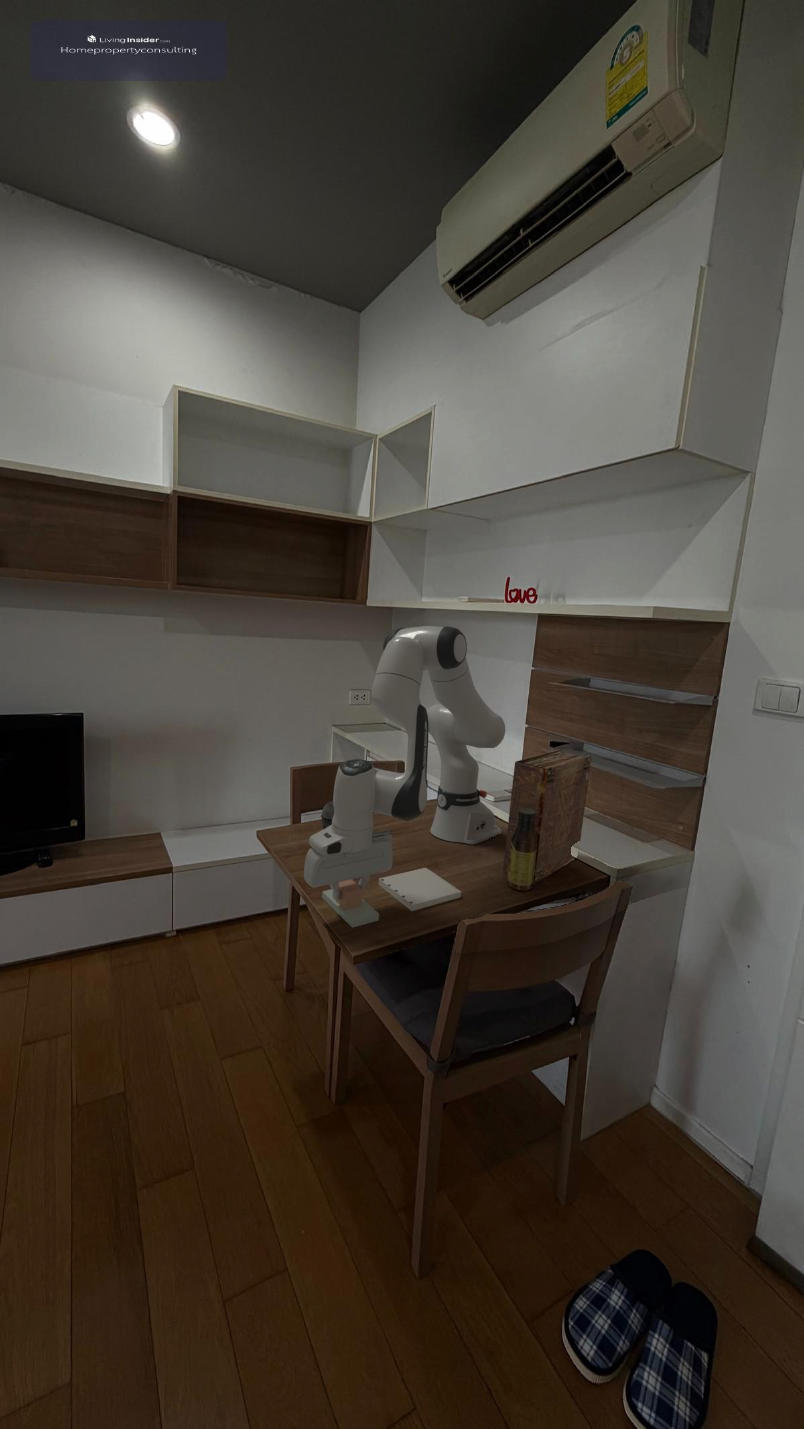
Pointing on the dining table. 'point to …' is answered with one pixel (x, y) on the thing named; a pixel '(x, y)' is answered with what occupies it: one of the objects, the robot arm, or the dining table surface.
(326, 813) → the beverage cup
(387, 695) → the robot arm
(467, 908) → the dining table surface
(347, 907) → the green slab pink block
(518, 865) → the sauce bottle
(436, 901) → the board
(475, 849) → the dining table surface
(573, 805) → the book
